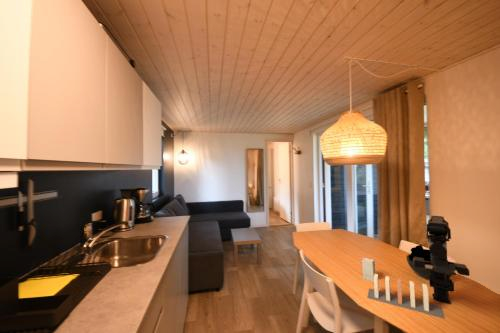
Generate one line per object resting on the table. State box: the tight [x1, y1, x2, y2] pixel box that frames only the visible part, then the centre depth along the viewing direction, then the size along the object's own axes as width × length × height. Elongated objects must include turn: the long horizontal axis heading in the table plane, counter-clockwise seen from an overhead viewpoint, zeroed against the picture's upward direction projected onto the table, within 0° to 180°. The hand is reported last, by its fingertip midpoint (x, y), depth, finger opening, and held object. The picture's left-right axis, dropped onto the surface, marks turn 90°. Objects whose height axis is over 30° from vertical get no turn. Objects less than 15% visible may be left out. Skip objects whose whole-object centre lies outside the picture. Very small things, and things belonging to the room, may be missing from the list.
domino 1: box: [373, 273, 380, 298], centre depth 112 cm, size 5×2×10 cm, turn 146°
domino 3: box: [396, 277, 403, 304], centre depth 107 cm, size 5×2×10 cm, turn 145°
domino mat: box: [366, 288, 446, 320], centre depth 106 cm, size 10×30×1 cm, turn 56°
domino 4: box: [409, 280, 416, 308], centre depth 104 cm, size 5×2×10 cm, turn 146°
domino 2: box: [384, 275, 391, 301], centre depth 110 cm, size 5×2×10 cm, turn 146°
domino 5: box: [422, 283, 430, 311], centre depth 101 cm, size 5×2×10 cm, turn 146°
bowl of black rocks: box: [406, 244, 431, 279], centre depth 129 cm, size 20×20×19 cm
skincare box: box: [361, 257, 376, 283], centre depth 128 cm, size 6×4×12 cm
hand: (440, 284), depth 98 cm, fingers open, 3 cm apart
